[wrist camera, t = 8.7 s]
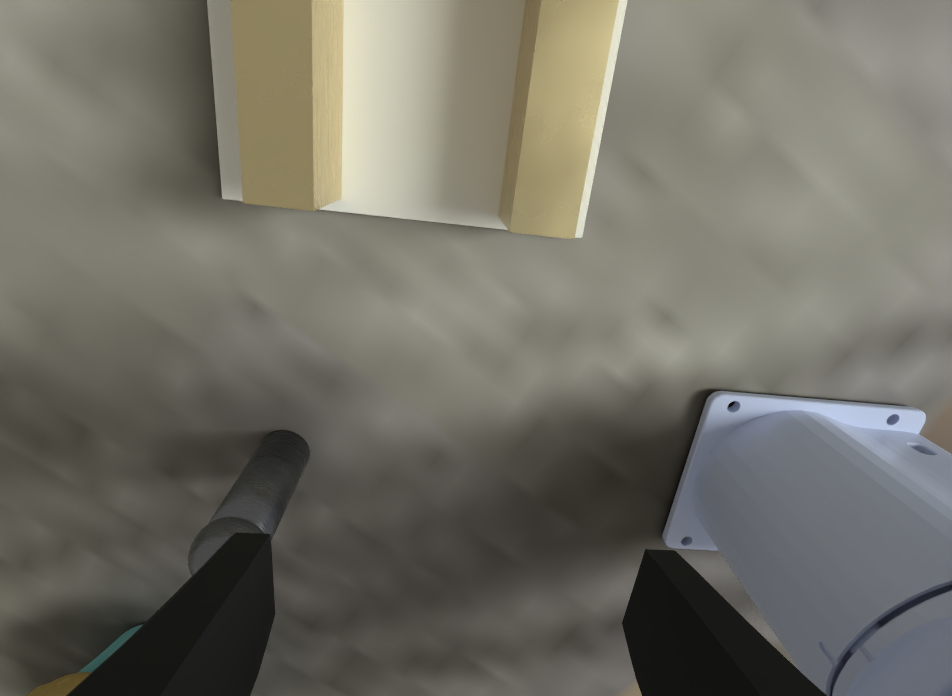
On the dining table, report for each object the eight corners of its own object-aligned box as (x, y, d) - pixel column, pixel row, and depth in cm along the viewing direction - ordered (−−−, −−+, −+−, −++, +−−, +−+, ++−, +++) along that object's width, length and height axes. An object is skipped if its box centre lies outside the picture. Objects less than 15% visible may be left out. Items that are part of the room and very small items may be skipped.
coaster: (663, -219, 13) (672, -235, 12) (577, 235, 17) (581, 238, 17) (194, -310, 12) (181, -333, 11) (230, 197, 16) (222, 198, 16)
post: (311, 430, 20) (250, 554, 14) (312, 474, 21) (254, 610, 15) (256, 426, 20) (168, 550, 14) (259, 471, 21) (177, 607, 14)
